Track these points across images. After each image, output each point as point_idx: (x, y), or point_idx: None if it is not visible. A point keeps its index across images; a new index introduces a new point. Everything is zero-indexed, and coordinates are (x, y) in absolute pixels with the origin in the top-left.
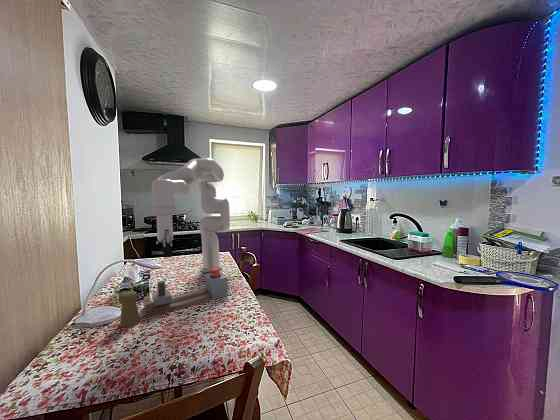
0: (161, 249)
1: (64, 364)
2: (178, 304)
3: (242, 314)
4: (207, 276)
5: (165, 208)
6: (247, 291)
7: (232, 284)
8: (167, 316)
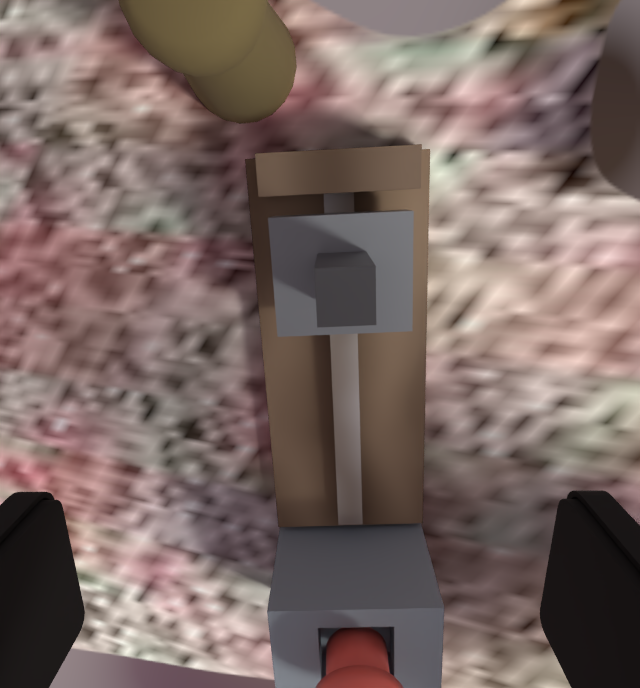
0: (598, 541)
1: None
2: (270, 353)
3: None
4: (382, 613)
5: None
6: (271, 676)
7: None
8: (201, 276)
